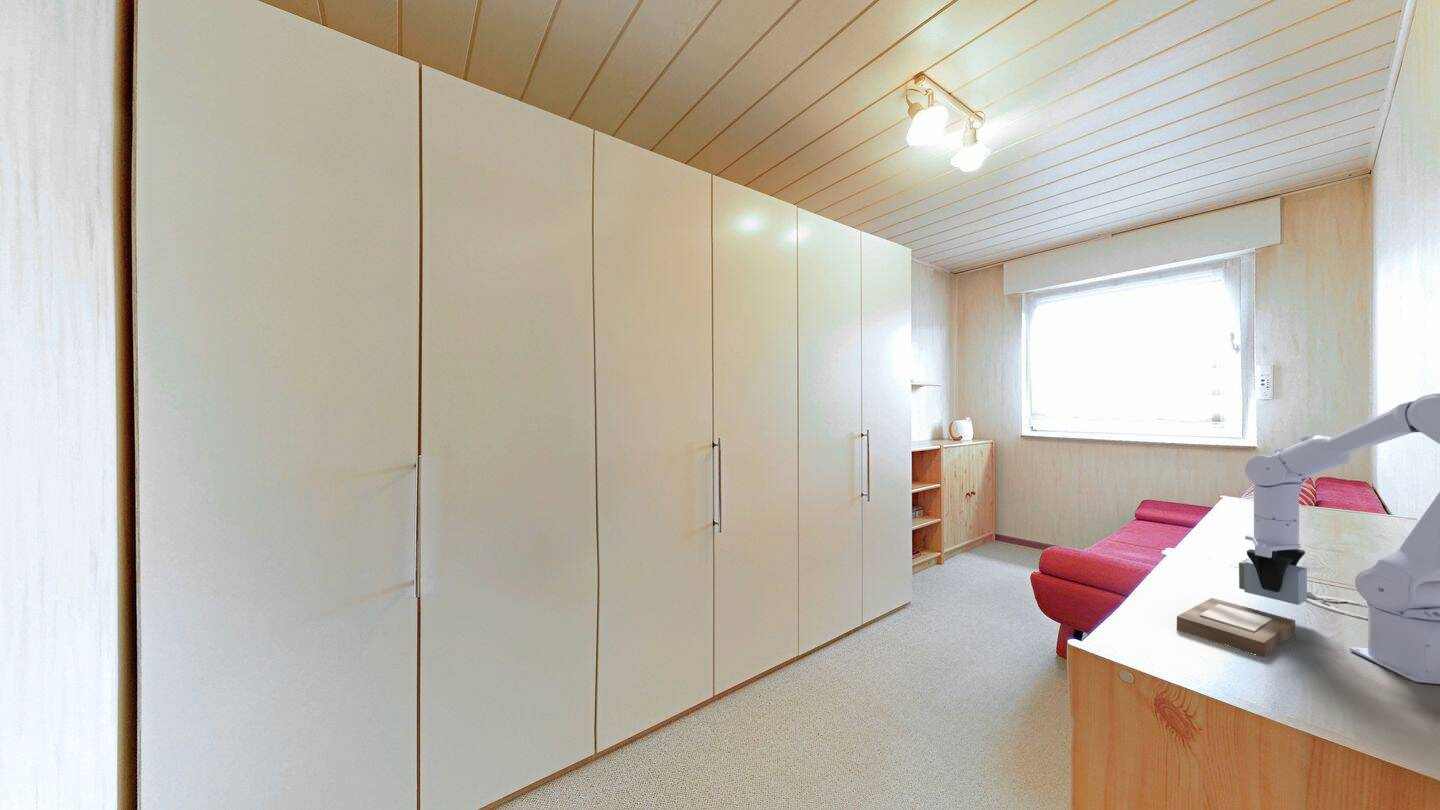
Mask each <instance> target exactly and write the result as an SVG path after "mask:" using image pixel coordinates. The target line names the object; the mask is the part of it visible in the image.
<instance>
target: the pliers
mask: <svg viewBox="0 0 1440 810" xmlns="http://www.w3.org/2000/svg"><path fill="white" fill-rule="evenodd" d="M1308 597H1309V598H1308ZM1313 598H1315V599H1313ZM1319 599H1326V600H1320V601H1317V600H1319ZM1331 600H1336V601H1331ZM1306 601H1307V602H1306ZM1323 601H1328V602H1323ZM1354 601H1355V600H1351V599H1350V600H1349V599H1343V598H1339V597H1338V598H1337V597H1332V596H1326V595H1325V596H1324V595H1315V594H1313V593H1312V592H1311V591H1308V590H1307V600H1305V601H1304V602H1306V603H1308V604H1311V605H1313V604H1314V605H1313V606H1316V607H1318V606H1319V608H1321V607H1322V608H1321V609H1324V608H1325V610H1327V609H1328V610H1327V611H1330V610H1332V611H1331V612H1334V611H1335V612H1334V613H1337V612H1341V613H1344V614H1348V615H1354V616H1358V617H1362V618H1368V616H1364V615H1361V614H1357V613H1352V612H1349V611H1345V610H1342V609H1339V608H1337V607H1335V606H1334V605H1332V604H1330V602H1351V603H1357V602H1358V601H1355V602H1354ZM1321 602H1322V603H1321ZM1323 603H1324V604H1323ZM1361 603H1362V602H1360V604H1361ZM1325 604H1326V605H1325ZM1357 604H1358V603H1357ZM1328 605H1329V606H1328ZM1341 613H1340V614H1341ZM1344 614H1343V615H1344ZM1348 615H1347V616H1348Z"/></svg>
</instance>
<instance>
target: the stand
mask: <svg viewBox="0 0 1440 810" xmlns="http://www.w3.org/2000/svg"><path fill="white" fill-rule="evenodd" d="M1176 630H1178V631H1180V632H1184V633H1186V634H1189V635H1193V636H1196V637H1198V636H1199V637H1198V638H1202V639H1205V640H1208V641H1211V640H1212V641H1211V642H1214V641H1215V643H1217V642H1218V643H1217V644H1220V643H1222V644H1221V645H1223V644H1226V645H1229V646H1231V647H1230V648H1232V647H1234V648H1233V649H1235V648H1237V649H1236V650H1238V649H1240V650H1239V651H1241V650H1242V651H1241V652H1244V651H1246V652H1245V653H1247V652H1249V653H1248V654H1250V653H1252V654H1251V655H1254V654H1256V655H1255V656H1257V655H1258V656H1257V657H1260V656H1261V657H1260V658H1263V657H1264V658H1266V657H1267V656H1269V653H1270V654H1271V653H1272V652H1273V651H1275V650H1276V649H1277V648H1279V647H1280V646H1282V645H1283V644H1284V643H1285V642H1287V641H1288V640H1289V639H1290V638H1292V637H1293V636H1294V635H1295V634H1296V619H1292V618H1288V617H1285V616H1281V615H1277V614H1274V613H1273V614H1272V613H1270V612H1265V611H1262V610H1260V609H1259V610H1258V609H1254V608H1251V607H1246V606H1245V605H1244V606H1243V605H1240V604H1236V603H1234V602H1228V601H1225V600H1223V599H1218V598H1213V597H1210V598H1209V599H1207V600H1205V601H1203V602H1201V603H1199V604H1197V605H1195V606H1193V607H1191V608H1190V609H1187V610H1186V611H1184V612H1182V613H1180V614H1178V615H1176ZM1226 645H1225V646H1226ZM1229 646H1228V647H1229ZM1266 655H1267V656H1266ZM1265 656H1266V657H1265Z"/></svg>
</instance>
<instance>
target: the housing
mask: <svg viewBox="0 0 1440 810" xmlns="http://www.w3.org/2000/svg"><path fill="white" fill-rule="evenodd" d="M1307 572H1308V569H1307V567H1304V566H1298V565H1296V566H1294V565H1288V567H1287V569H1286V571H1285V573H1284V577H1283V582H1282V586H1281V589H1280V591H1279V592H1274V591H1270V590H1266V589H1262V586H1261V584H1260V580H1259V577H1258V574H1257V571H1256V568H1255V566H1254V564H1253V563H1252V561H1251V559H1250V558H1246V559H1244V560H1241V561H1239V562H1238V577H1239V578H1238V585H1239V586H1238V588H1239V589H1240V590H1244V593H1247V594H1249V595H1250V594H1251V595H1255V596H1260V597H1262V598H1263V597H1264V598H1268V599H1272V600H1276V601H1280V602H1283V603H1284V602H1285V603H1289V604H1293V605H1296V606H1299V605H1301V604H1302V603H1304V602H1306V601H1305V600H1307V598H1308V597H1307V591H1308V576H1307V575H1308V573H1307Z"/></svg>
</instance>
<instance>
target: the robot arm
mask: <svg viewBox="0 0 1440 810" xmlns="http://www.w3.org/2000/svg"><path fill="white" fill-rule="evenodd" d="M1412 433H1413V434H1414V433H1422V434H1423V435H1425V436H1426V437H1428V438H1429V439H1431V440H1432V441H1434V442H1436V443H1437V444H1439V445H1440V393H1431V394H1426V395H1423V396H1420V397H1419V398H1417V399H1415V400H1412V401H1410V400H1409V401H1407V402H1403V403H1400V404H1398V405H1396V406H1395V407H1394V408H1392V409H1389V410H1388V411H1386V412H1384V413H1381V414H1379V415H1377V416H1375V417H1373V418H1370V419H1368V420H1366V421H1363V422H1362V423H1360V424H1358V425H1355V426H1354V427H1351V428H1349V429H1347V430H1345V431H1343V432H1340V433H1339V434H1336V435H1334V436H1327V435H1319V434H1318V435H1305V436H1303V437H1301V438H1299V440H1300V442H1299V443H1296V444H1294V445H1291V446H1289V447H1287V448H1277V449H1275V450H1274V451H1273V452H1274V453H1273V454H1272V455H1271V456H1270V455H1254V456H1253V458H1250V460H1248V461H1247V462H1246V464H1245V467H1244V470H1245V471H1244V472H1245V475H1246V476H1247V479H1249V481H1251V482H1252V483H1253V534H1246V535H1244V539H1245V540H1248V541H1251V542H1253V544H1254V549H1251V548H1250V549H1248V550H1246V556H1247V557H1248V559H1251V561H1252V563H1253V564H1254V566H1255V568H1256V571H1257V574H1258V577H1259V580H1260V584H1261V586H1262V589H1266V590H1270V591H1274V592H1279V591H1280V589H1281V586H1282V582H1283V577H1284V573H1285V571H1286V569H1287V567H1288V565H1294V566H1298V564H1299V562H1300V560H1301V559H1302V558H1303V557H1304V556H1305V555H1306V551H1305V550H1304V549H1301V542H1300V493H1302V486H1303V484H1305V483H1306V482H1308V480H1309V478H1310V477H1313V476H1315V475H1317V474H1321V473H1324V472H1327V471H1329V470H1332V469H1335V468H1337V467H1340V466H1342V465H1346V464H1348V463H1349V462H1350V459H1351V455H1352V453H1355V452H1358V451H1361V450H1364V449H1368V448H1370V447H1373V446H1376V445H1379V444H1383V443H1385V442H1389V441H1391V440H1395V439H1397V438H1400V437H1404V436H1407V435H1409V434H1412ZM1437 493H1438V494H1437V495H1436V496H1435V498H1433V499H1434V500H1433V501H1431V503H1430V505H1429V506H1428V508H1427V509H1426V510H1425V512H1424V513H1423V514H1422V516H1421V518H1420V519H1419V520H1418V522H1416V525H1415V526H1414V527H1413V529H1412V530H1411V531H1410V533H1409V534H1408V536H1407V537H1406V538H1405V540H1404V541H1403V543H1402V544H1401V545H1400V547H1399V548H1398V549H1397V550H1394V551H1392V552H1390V553H1389V554H1387V555H1385V556H1383V557H1381V558H1380V559H1378V560H1377V561H1376V563H1375V564H1374V565H1373V566H1372V567H1371V568H1368V569H1364V570H1362V571H1360V572H1359V573H1357V575H1356V577H1355V580H1354V585H1355V588H1356V590H1357V592H1358V594H1359V595H1360V596H1361V597H1362V599H1364V601H1366V604H1367V605H1368V606H1369V607H1367V608H1368V609H1367V610H1368V612H1367V613H1368V616H1367V617H1368V620H1367V621H1368V622H1367V623H1368V624H1367V626H1368V627H1367V647H1357V646H1355V647H1354V646H1350V647H1349V650H1350V651H1351V652H1353V653H1356V654H1357V655H1359V656H1361V657H1363V658H1366V659H1367V660H1370V661H1372V662H1374V663H1376V664H1378V665H1379V666H1382V667H1384V668H1386V669H1388V670H1390V671H1392V672H1394V673H1396V674H1398V675H1400V676H1402V677H1404V678H1406V679H1409V680H1411V681H1412V682H1416V683H1423V684H1433V685H1434V684H1435V685H1436V684H1437V685H1440V491H1439V492H1437Z"/></svg>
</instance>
